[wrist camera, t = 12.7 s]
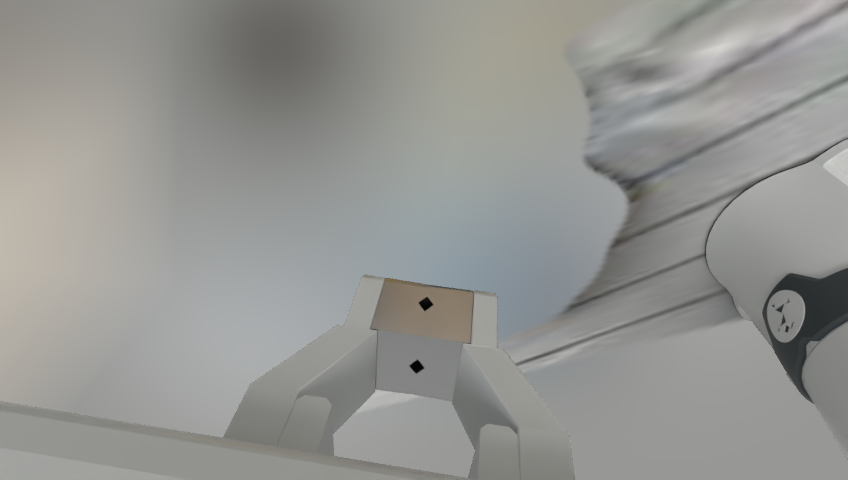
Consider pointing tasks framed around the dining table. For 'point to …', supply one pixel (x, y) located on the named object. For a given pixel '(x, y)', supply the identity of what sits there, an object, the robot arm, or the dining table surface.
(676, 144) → the dining table surface
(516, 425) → the robot arm
